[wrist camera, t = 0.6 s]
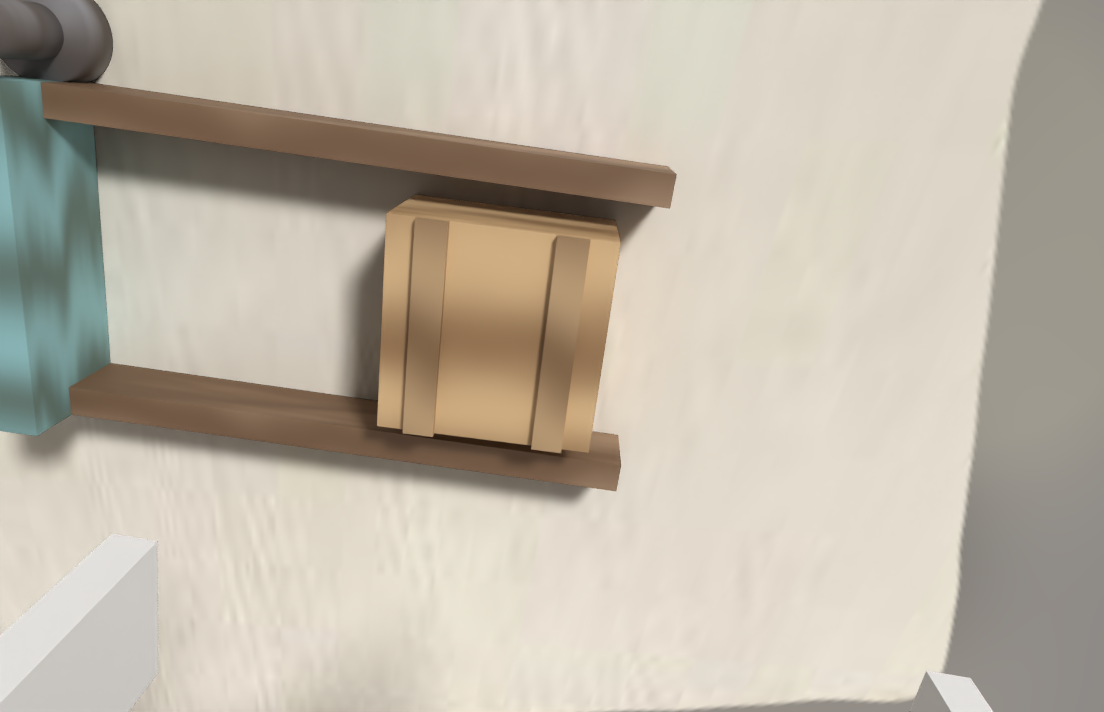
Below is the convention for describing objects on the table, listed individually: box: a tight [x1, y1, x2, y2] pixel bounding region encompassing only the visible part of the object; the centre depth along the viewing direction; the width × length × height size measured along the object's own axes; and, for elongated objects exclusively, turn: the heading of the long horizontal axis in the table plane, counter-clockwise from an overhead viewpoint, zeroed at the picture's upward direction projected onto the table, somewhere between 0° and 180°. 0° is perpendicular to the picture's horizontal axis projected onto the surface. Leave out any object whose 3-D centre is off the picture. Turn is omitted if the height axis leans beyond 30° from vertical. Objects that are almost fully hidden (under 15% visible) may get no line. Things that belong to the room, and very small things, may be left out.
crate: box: [377, 195, 621, 453], centre depth 36 cm, size 10×10×6 cm
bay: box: [0, 0, 676, 491], centre depth 34 cm, size 20×31×7 cm, turn 82°
